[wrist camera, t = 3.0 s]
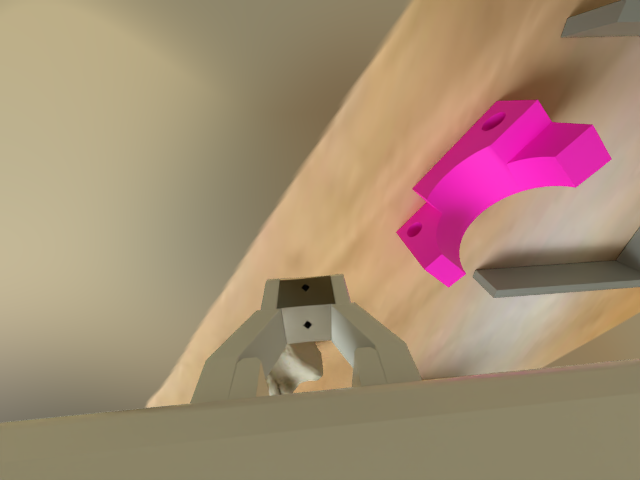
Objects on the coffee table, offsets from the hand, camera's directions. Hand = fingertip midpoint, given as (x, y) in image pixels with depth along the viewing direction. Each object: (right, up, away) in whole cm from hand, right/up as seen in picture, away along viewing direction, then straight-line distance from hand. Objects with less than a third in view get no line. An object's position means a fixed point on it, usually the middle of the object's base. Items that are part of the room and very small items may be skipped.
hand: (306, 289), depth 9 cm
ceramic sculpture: (-6, -14, +27) cm, 31 cm away
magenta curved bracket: (+15, +8, +16) cm, 23 cm away
